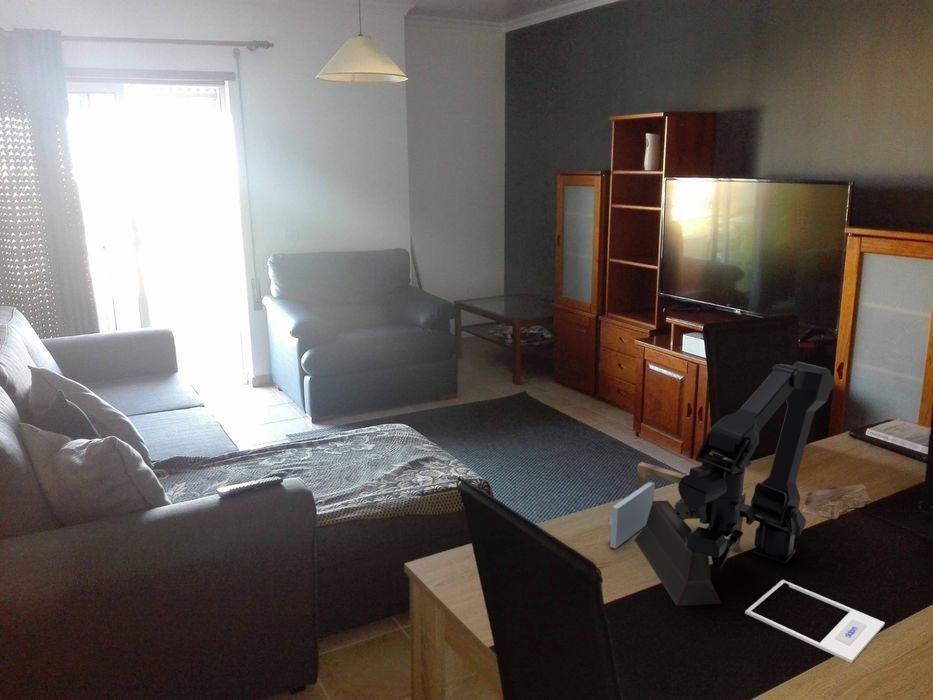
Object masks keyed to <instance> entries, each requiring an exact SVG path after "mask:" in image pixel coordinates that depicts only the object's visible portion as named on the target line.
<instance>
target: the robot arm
mask: <svg viewBox="0 0 933 700" xmlns="http://www.w3.org/2000/svg"><path fill="white" fill-rule="evenodd" d="M834 386H835V377H834V375H832V372H831V370H830V369H829V368H826V367H823V366H818V365H814V364H811V363H810V364H809V363H806V362H802V361H795V362H793V364H792V365H790V364H783V363H778V364H776V363H775V364H774V365H773V366H772V368H771V370H770V372H769V375H768V376H767V377H766V378H765V380H764V381H763V382H762V383H761V384H760V385H759V386H758V388H757V389H756V390H755V391H754V392H753V393H752V394H751V395H750V397H749V398H748V399H747V401H745V403H744V404H742V406H741V407H740V408H739V409H738V410H737V411H736V412H733V413H729V414H726V415H725V416H723V417H722V418H721V419H719V420H718V421H717V422H716V423H715V424H713V425H712V427H711V428H710V429H709V431H707V435H706V436H705V438H704V440H703V442H702V444H701V446H700V448H699V450H698V451H697V452H698V453H697V454H696V456H695V459H694V460H695V461H696V462H699V463H701V465H699V466H694V467H691V468H690V469H689V474H685V475H686V476H684V477H683V478H682V479H681V481H680V483H679V484H678V487H677V489H678V493H679V496H680V498H679V500H678V501H676V502H675V504H674V505H673V507H674V509H675V510H674V514H676V516H677V517H678V518H679V519H680V520H684V521H685V520H687V519H689V520H691V519H694V520H695V519H696V520H697V519H699V523H700V524H704V525H708V526H707V527H706V528H705V527H703V526H697V527H696V528H693V530H692V529H691V530H692V531H691V532H690V533H689V534H688V535H687V536H686V542H685V546H686V547H687V548H689V549H692V550H694V551H697V552H700V553H703V554H706V555H708V557H711V562H712V565H713V568H714V569H717V570H720V569H721V568H722V567H723V566H724V563H725V562H726V561H727V559H728V558H729V556H730V555H731V553H732V552H733V551H732V550H733V548H734V547H735V545H736V544H737V542H738V541H739V539H740V540H741V538H742V537H743V535H744V532H743V531H742V530H741V531H739V530H736V528H737V527H738V526H739V525H740V524H741V523H742V524H743V521H744V518H745V523H746V525H747V526H751V525H752V524H753V523H754V522H757V523H758V524H759V525H758V526H756V528H755V533H754V534H755V535H754V542H753V545H754V547H755V548H754V549H753V551H752V552H753V553H754V554H756V555H759V556H762V557H763V558H767V559H770V560H773V561H774V562H775V561H776V562H778V563H782V564H787V562H789V560H790V559H791V558H792V557H793V555H795V553H796V549H795V548H794V547H795V546H794V544H795V539H796V536H801V535H802V531H804V529H805V526H806V524H807V523H806V522H807V519H806V517H805V515H804V514H803V513H801V512H802V511H801V510H800V508H799V507H800V503H801V496H800V493H799V489H798V486H797V483H796V482H797V477H798V474H799V470H800V466H801V462H802V459H803V456H804V452H805V448H806V445H807V441H808V437H809V433H810V430H811V425H812V422H813V419H814V415H815V412H816V411H818V410H819V409H820V408H821V407H822V406H823V405H824V404H826V402H827V401H828V400H829V396H830V394H831V392H832V391H833V389H834ZM785 401H786V404H787V407H786V412H785V415H784V420H783V423H782V426H781V430H780V433H779V438H778V442H777V446H776V448H775V453H774V457H773V461H772V464H771V469H770V473H769V474H768V475H769V476H768V477H767V478H765V479H764V480H763V481H762V482H758V483H757V484H756V485H755V486H754V492H753V494H752V495H753V496H752V498H751V499H750V500H751V501H750V504H746V495H745V496H742V492H744V489H743V488H744V481H745V473H746V471H745V470H746V468H747V467H750V466H752V461H751V460H750V459H751V457H752V456H753V455H754V453H755V451H756V448H757V447H758V445H760V432H761V430H762V429H763V428H764V426H765V425H766V424H767V422H768V421H769V420H770V419H771V418H772V416H773V415H774V414H775V413H776V412H777V411H778V409H780V407H781V406H782V405H783V403H784V402H785ZM711 452H712V453H714V454H716V455H719V456H722V457H723V458H720V457H718V456H716V455H713V454H711ZM744 502H745V504H744Z"/></svg>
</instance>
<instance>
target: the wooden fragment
mask: <svg viewBox="0 0 933 700" xmlns="http://www.w3.org/2000/svg"><path fill="white" fill-rule="evenodd" d="M871 501H872V500H871V497H870V495H869V494H868V492H867V487H866V486H865V485H864V484H862V483H861V484H860V483H859V484H854V485H845V486H839V487H835V486H834V487H829V488H823V489H822V488H821V489H818V490H812V491H810V492H808V493H807V496H806V499H805V502H804V504H803V507H802V510H801V511H800V512H801V513H802V514H803V515H805V514H806V515H809V516H812V517H817V518H823V519H824V518H825V519H832V520H837V519H838V518H839V517H840V516H841V515H842V513H845V512H848V510H850V509H859V508H864V507H865V505H866V504H867V503H868V502H871Z"/></svg>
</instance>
